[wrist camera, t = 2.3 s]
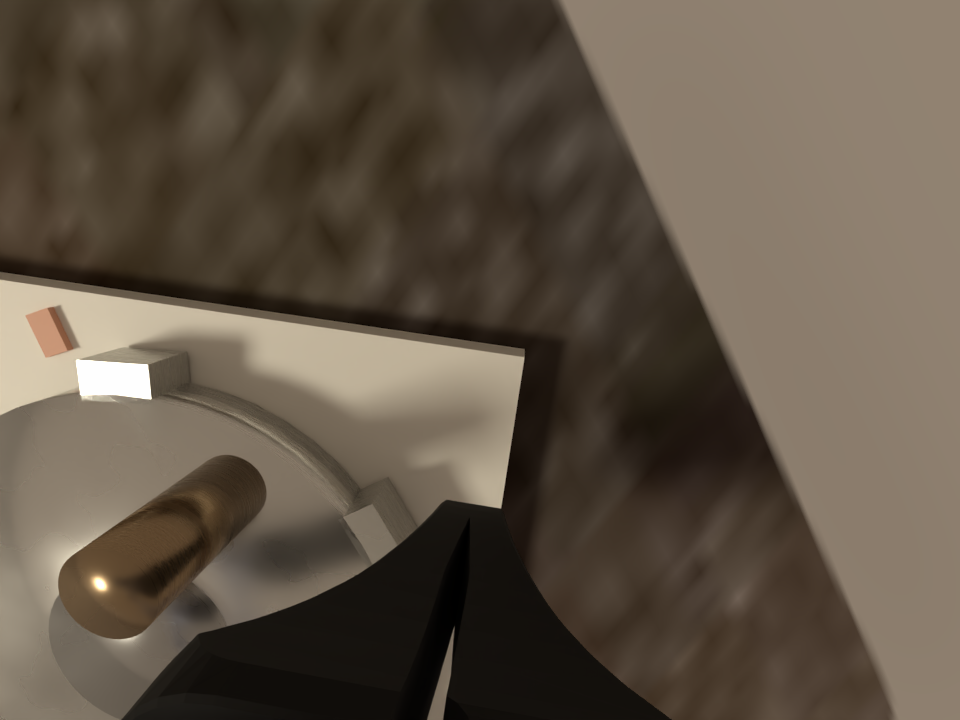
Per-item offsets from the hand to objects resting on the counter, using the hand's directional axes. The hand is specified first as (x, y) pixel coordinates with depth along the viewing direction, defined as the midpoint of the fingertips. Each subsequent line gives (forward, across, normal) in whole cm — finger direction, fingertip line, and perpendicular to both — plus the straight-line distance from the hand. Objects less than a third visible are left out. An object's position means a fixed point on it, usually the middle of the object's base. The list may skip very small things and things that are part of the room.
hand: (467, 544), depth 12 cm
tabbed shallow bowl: (+2, +8, +5) cm, 10 cm away
